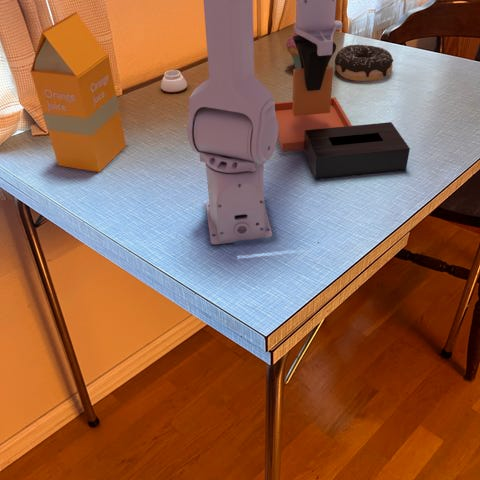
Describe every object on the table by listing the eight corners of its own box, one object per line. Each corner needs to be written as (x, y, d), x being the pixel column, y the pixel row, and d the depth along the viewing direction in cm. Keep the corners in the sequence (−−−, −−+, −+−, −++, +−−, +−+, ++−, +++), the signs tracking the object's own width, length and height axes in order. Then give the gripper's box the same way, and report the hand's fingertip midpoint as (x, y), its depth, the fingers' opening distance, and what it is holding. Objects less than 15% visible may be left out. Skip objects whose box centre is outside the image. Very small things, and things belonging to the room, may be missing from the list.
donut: (345, 86, 106) (347, 65, 103) (325, 64, 114) (327, 43, 111) (400, 79, 107) (404, 58, 104) (377, 58, 116) (380, 37, 113)
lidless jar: (157, 93, 108) (182, 94, 106) (155, 77, 105) (180, 78, 104) (166, 82, 111) (190, 84, 110) (164, 67, 109) (189, 68, 108)
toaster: (405, 173, 83) (410, 148, 80) (315, 182, 82) (316, 157, 79) (387, 146, 89) (391, 121, 86) (303, 154, 88) (304, 130, 85)
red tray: (357, 146, 89) (358, 136, 88) (282, 154, 89) (282, 143, 87) (334, 107, 100) (335, 97, 99) (267, 113, 99) (267, 103, 98)
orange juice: (127, 145, 93) (101, 12, 79) (100, 172, 87) (66, 33, 73) (85, 140, 95) (53, 9, 81) (56, 165, 89) (16, 29, 75)
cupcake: (282, 75, 111) (282, 8, 103) (291, 59, 117) (293, -5, 109) (325, 78, 109) (329, 10, 101) (332, 62, 115) (337, -4, 107)
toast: (330, 112, 92) (333, 68, 87) (293, 116, 92) (294, 72, 87) (328, 109, 93) (331, 65, 88) (292, 112, 93) (293, 68, 88)
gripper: (357, 3, 75) (348, 103, 84) (332, -25, 85) (326, 67, 95) (305, 7, 74) (302, 108, 84) (286, -21, 85) (285, 71, 94)
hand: (312, 87), depth 89 cm, fingers closed on toast, 1 cm apart
